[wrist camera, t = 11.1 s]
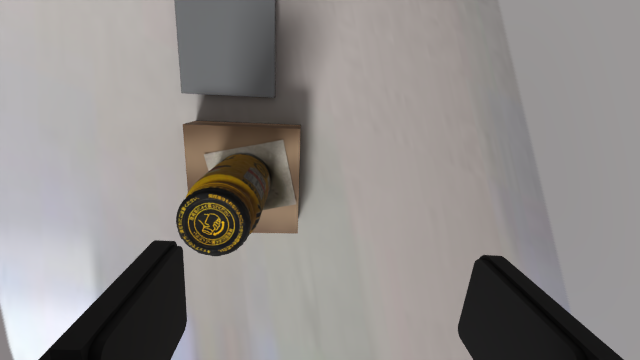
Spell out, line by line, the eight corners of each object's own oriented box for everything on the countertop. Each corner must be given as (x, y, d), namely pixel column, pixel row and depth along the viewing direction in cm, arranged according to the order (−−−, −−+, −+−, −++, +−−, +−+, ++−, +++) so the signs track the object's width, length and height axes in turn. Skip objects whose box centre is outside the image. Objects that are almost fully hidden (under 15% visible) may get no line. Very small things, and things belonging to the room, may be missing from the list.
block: (195, 120, 35) (182, 124, 31) (300, 125, 36) (300, 129, 32) (202, 217, 38) (191, 231, 34) (297, 219, 39) (297, 233, 35)
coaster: (177, -8, 31) (173, -12, 30) (275, -2, 32) (274, -5, 31) (184, 93, 34) (181, 93, 33) (275, 97, 35) (274, 97, 34)
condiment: (204, 153, 32) (148, 188, 20) (283, 139, 32) (272, 166, 20) (222, 216, 34) (181, 280, 23) (296, 203, 34) (293, 259, 23)
